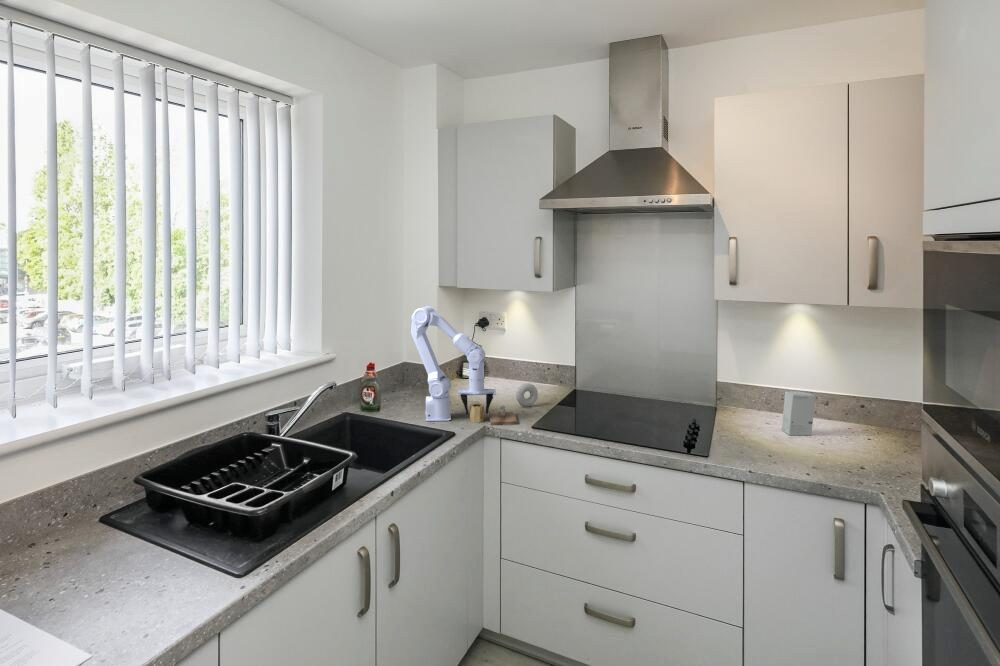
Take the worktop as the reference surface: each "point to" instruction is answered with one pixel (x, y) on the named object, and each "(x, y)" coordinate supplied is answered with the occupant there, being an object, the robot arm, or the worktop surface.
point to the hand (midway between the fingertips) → (477, 413)
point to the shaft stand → (502, 417)
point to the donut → (520, 395)
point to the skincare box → (798, 413)
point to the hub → (476, 412)
